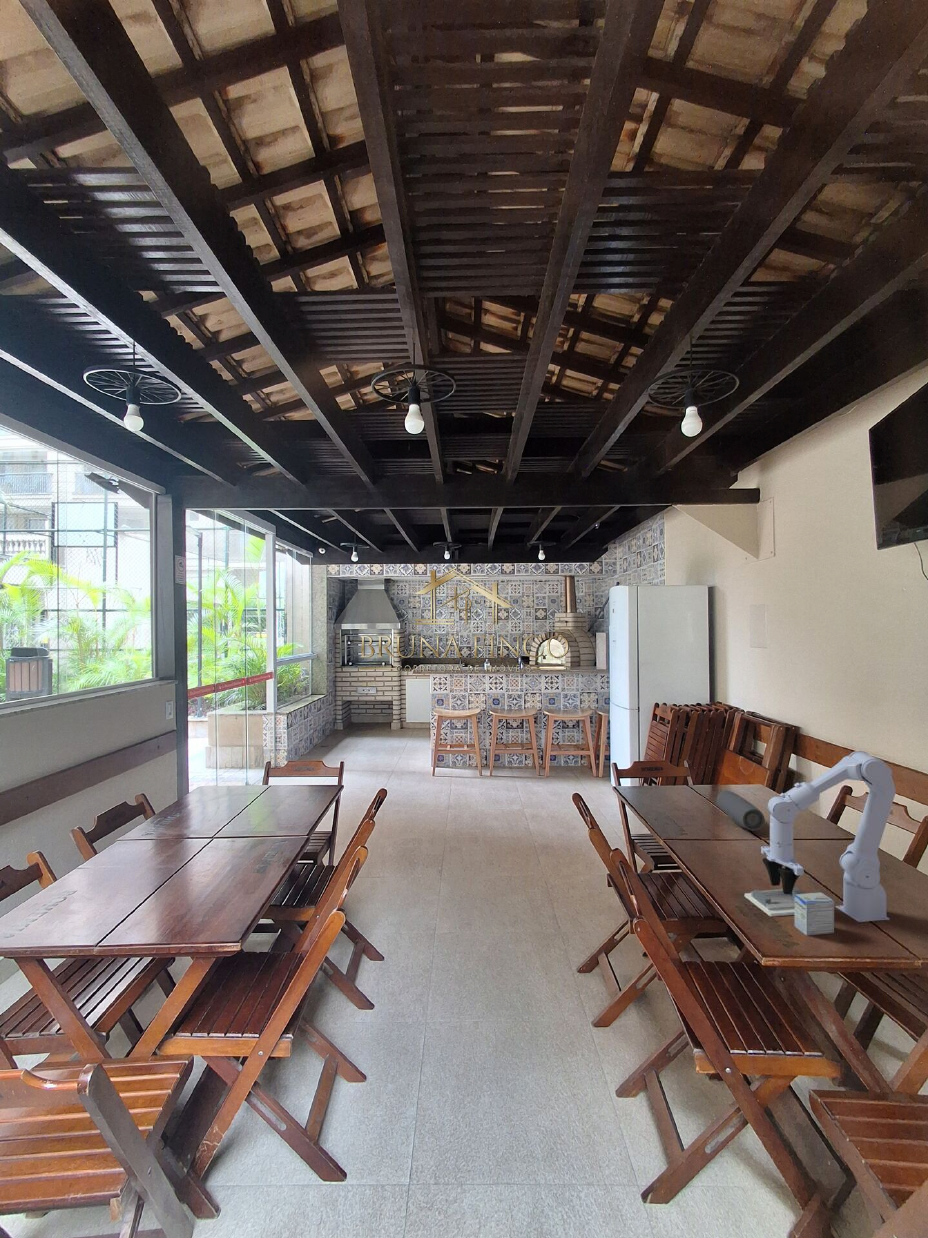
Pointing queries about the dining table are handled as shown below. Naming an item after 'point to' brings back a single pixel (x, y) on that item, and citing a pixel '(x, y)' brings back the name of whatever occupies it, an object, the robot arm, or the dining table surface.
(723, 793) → the bluetooth speaker
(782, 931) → the dining table surface
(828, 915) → the medicine box
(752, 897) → the white flat tray
